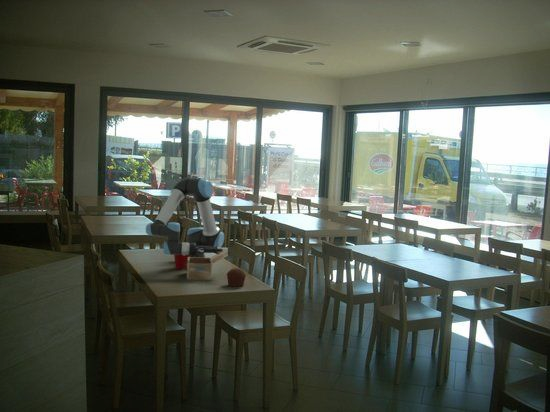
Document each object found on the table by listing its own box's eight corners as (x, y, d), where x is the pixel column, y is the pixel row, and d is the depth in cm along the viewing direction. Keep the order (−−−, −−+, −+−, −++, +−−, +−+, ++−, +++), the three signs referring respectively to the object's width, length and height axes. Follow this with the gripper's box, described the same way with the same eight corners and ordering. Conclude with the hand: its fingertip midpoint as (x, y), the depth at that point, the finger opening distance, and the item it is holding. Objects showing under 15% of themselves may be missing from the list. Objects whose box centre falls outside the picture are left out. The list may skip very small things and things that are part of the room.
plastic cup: (185, 270, 367) (186, 252, 366) (169, 269, 369) (170, 250, 368) (191, 267, 378) (192, 249, 377) (176, 266, 380) (176, 248, 379)
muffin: (246, 288, 330) (247, 271, 329) (227, 288, 328) (228, 270, 327) (243, 283, 342) (244, 266, 341) (225, 283, 339) (225, 266, 339)
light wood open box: (187, 272, 363) (188, 256, 362) (210, 273, 365) (211, 257, 364) (186, 280, 342) (187, 263, 341) (211, 280, 344) (211, 264, 343)
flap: (211, 257, 363) (226, 250, 363) (211, 257, 363) (226, 250, 363) (211, 263, 344) (227, 255, 345) (212, 263, 344) (228, 256, 345)
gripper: (189, 253, 358) (227, 254, 361) (188, 256, 345) (227, 258, 348) (189, 241, 357) (227, 242, 360) (189, 244, 344) (228, 246, 347)
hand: (227, 250), depth 354 cm, fingers closed
